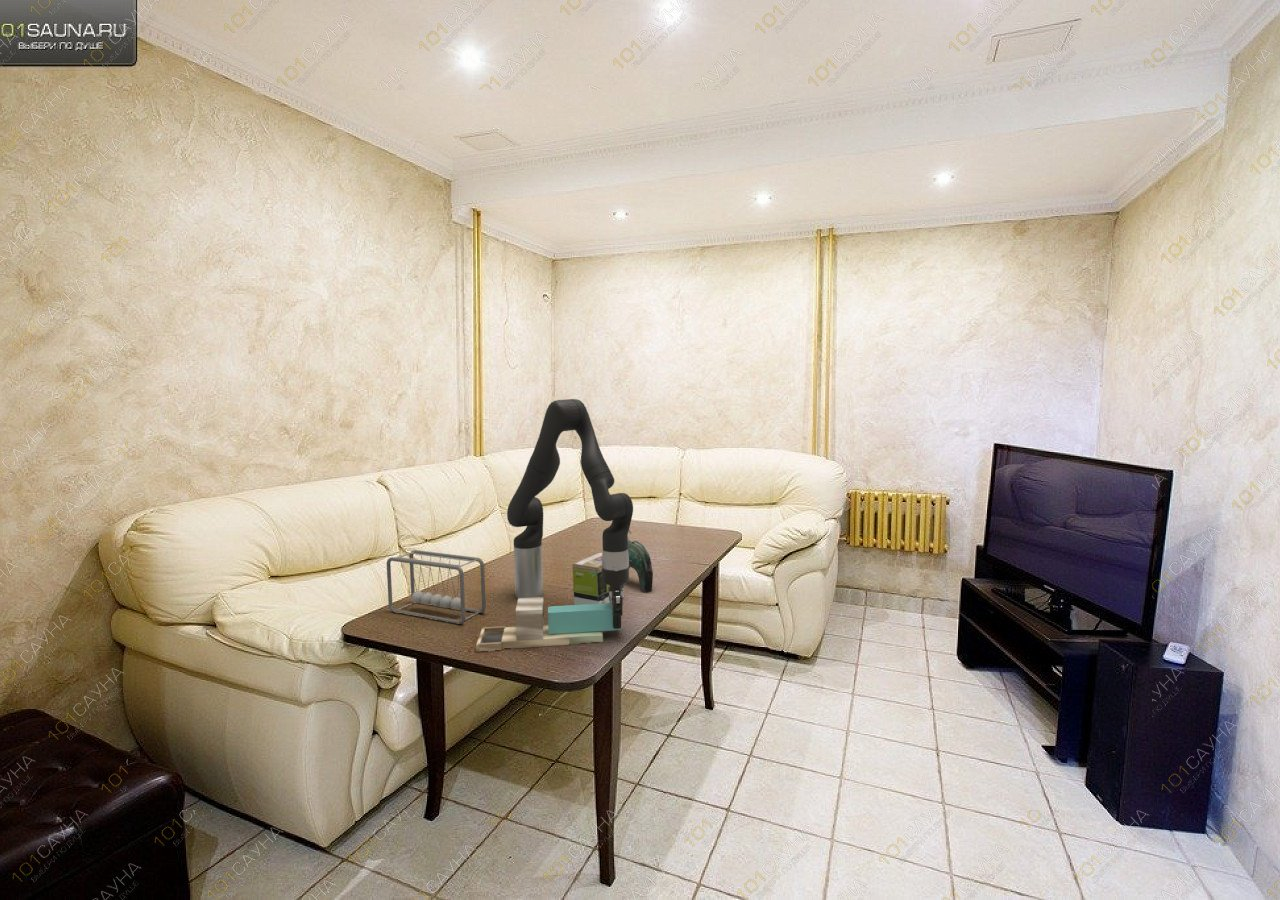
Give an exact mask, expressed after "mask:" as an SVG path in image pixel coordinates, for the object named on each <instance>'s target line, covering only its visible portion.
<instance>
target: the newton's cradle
mask: <svg viewBox="0 0 1280 900" xmlns="http://www.w3.org/2000/svg"><path fill="white" fill-rule="evenodd" d="M408 555H409V558H408V557H405V556H408ZM414 555H417V556H414ZM423 556H424V558H423ZM425 556H426V557H425ZM417 557H420V559H415V558H417ZM432 557H434V559H432ZM428 558H430V560H424V559H428ZM438 559H439V562H438V561H435V560H438ZM441 559H446V561H447V560H456V561H453V562H451V561H449V562H448V563H446V562H444V560H442V561H441ZM461 561H466V563H464V564H460V563H461ZM391 562H397V563H405V564H409V574H410V575H409V578H410V597H411V601H412V602H411V603H409V604H407V605H404V606H402V607H400V608H398V609H400V610H398V609H396V608H395V607H394V605H393V588H392V569H391V567H392V566H391ZM456 562H458V564H454V563H456ZM474 562H478V563H479V567H480V587H481V588H480V589H481V591H480V593H481V609H475V608H470V607H466V603H465V602H466V600H465V577H464V575H465V574H464V570H463V569H462V567H464V566H466V565H469V564H471V563H474ZM414 565H419V566H420V569H419V573H421V575H422V582H423V586H424V587H423V588H424V593H423V592H422V591H420V586H418V588H417V586H416V580H415V568H414ZM422 566H426V567H429V572H428V574H429V575H428V577H431V580H432V586H433V588H434V589H433V590H434V594H433V593H431V592H429V590H427V589H426V585H425V584H426V583H425V581H424V579H425V578H424V574H423V571H422ZM431 567H435V568H438V572H439V575H438V577H437V583H439V582H440V581H439V580H440V579H441V583H442V588H443V594H444V595H443V596H442V594H439V593H438V592H439V586H436V587H437V590H436V589H435V584H434V579H433V573H432V568H431ZM441 568H442V569H447V570H448V571H449V572H448V575H447V579H449V578H450V579H451V583H452V587H453V589H455V587H454V581H453V576H452V573H451V570H456V571H457V572H458V577H457V578H458V579H457V584H459V589H457V592H456V591H455V590H453V592H454V597H453V598H452V597H451V596H450V595H448V594H446V591H448V588H449V587H448V586H449V583H447V584H446V585H447V587H446V591H445V587H444V582H443V576H442V571H441ZM430 574H431V576H430ZM449 575H450V577H449ZM418 577H419V579H418V583H420V579H421V576H418ZM439 577H441V578H440V579H439ZM485 577H486V575H485V563H484V561H483V559H482V558H480V557H474V556H467V555H466V556H465V555H460V554H458V555H457V554H450V553H443V552H434V551H426V550H418V549H417V550H416V549H413V550H411V551H410V552H408V553H406V554H402V555H399V556H396V557H393V556H392V557H391V556H390V557H389V558H388V559H387V561H386V578H387V580H386V581H387V599H388V608H389V610H390V611H391V612H392V611H396V612H402V613H407V614H412V615H418V616H423V617H428V618H432V619H437V620H442V621H448V622H453V623H459V624H461V625H463V624H464V623H465V621H466V620H468V619H471V618H472V617H474V616H476V615H478V613H482V614H484V613H485V611H486V608H487V607H486V602H487V601H486V578H485ZM429 583H430V580H428V584H427V587H429V586H430V585H429ZM459 590H460V591H459ZM456 593H457V594H456ZM459 593H460V597H458V595H459ZM420 602H421V603H423V604H422V605H425V606H429V605H428V604H432V605H433V606H432V607H436V606H442V607H443V609H448V607H449V608H453V609H452V610H455V611H460V610H461V611H460V613H461V614H460V615H461V616H460V617H461V618H460V619H461V620H457V619H453V618H452V619H451V618H448V617H442V616H441V617H440V616H436V615H430V614H423V613H418V612H413V611H407V610H402V609H401V608H403V607H405V608H407V607H409V606H408V605H410V606H412V605H413V604H412V603H414V604H419V603H420ZM411 604H412V605H411ZM406 606H407V607H406ZM442 607H441V608H442ZM403 609H404V608H403ZM458 609H460V610H458ZM465 611H471V612H476V613H472V614H471V615H470V616H467V617H466V612H465ZM471 612H470V613H471Z"/></svg>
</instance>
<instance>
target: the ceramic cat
mask: <svg viewBox="0 0 1280 900" xmlns="http://www.w3.org/2000/svg"><path fill="white" fill-rule="evenodd" d="M628 533H629V534H631V535H632V532H631V530H630V529H629V531H628ZM628 555H629V569H630V568H632V569H633V570H635V572H636V574H637V576H638V581H639V587H640V592H642V591H643V592H642V593H645V592H646V593H649V592H648V591H650V592H652V591H653V582H654V581H653V578H654V577H653V576H654V571H653V565H652V564H653V563H652V561H651V560H652V559H651V556H650V554H649V551H648V550H647V548H645V546H644V545H643V543H642V542H639V541H637V540H635V541H631V539H630V538H629V537H628Z"/></svg>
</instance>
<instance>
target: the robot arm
mask: <svg viewBox="0 0 1280 900" xmlns="http://www.w3.org/2000/svg"><path fill="white" fill-rule="evenodd" d="M570 431H571V432H572V431H575V432H576V433H577V435H578V437H579V439H580V442H581V454H580V465H581V466H580V467H581V470H582V472H583V474H584V477H585V478H586V481H587V483H588V484H589V487H590V490H591V496H592V500H593V506H594V510H595V512H596V515H598V517H599V518H600V519H601V520H603V521H604V522H611V524H610V525H609V526H608V527H606V528H605V529H603V531H602V552H601V553H602V581H603V583H605V584H607V585H610V587H608V592H609V601H610V606H611V607H612V611H613V613H612V615H613V628H614V629H620V628H621V629H622V616H623V614H624V613H623V605H624V598H623V595H624V596H625V593H624V594H623V589H622V587H621V585H622V584H624V585H625V584H628V583H629V581H630V568H629V555H628V538H629V536H628V534H629V530H630V528H631V523H632V519H633V513H634V504H633V501H632V498H631V497H630V496H629V495H628V493H625V492H617V493H614V494H613V493H612V494H610V492H609V489H611V488H612V487H613V486H614V485H615V477H614V475H613V474H612V471H611V469H610V468H609V466H608V463H607V462H606V460H605V458H604V456H603V453H602V451H601V448H600V446H599V442H598V439H597V436H596V433H595V430H594V427H593V423H592V420H591V418H590V414H589V412H588V410H587V407H586V405H585V404H584V403H583V401H581V400H580V399H577V398H571V399H569V398H568V399H566V398H565V399H557V400H553V401H551V403H549V405H548V406H547V408H546V410H545V413H544V417H543V421H542V425H541V429H540V433H539V434H538V438H537V440H536V444H535V447H534V449H533V452H532V454H531V455H530V458H529V460H528V462H527V465H526V468H525V472H524V473H523V476H522V478H521V481H520V483H519V485H518V487H517V489H516V491H515V492H514V494H513V496H512V498H511V500H510V502H509V503H508V507H507V511H506V512H507V513H506V517H507V522H508V524H509V525H510V526H511V527H515V528H521V527H526V528H524V530H523V531H522V532H521V533H519V534H518V535H516V536H515V537H514V538H513V560H514V561H513V566H514V595H515V596H514V597H515V598H516V599H518V598H533V597H543V595H544V588H543V587H544V582H543V581H544V580H543V574H544V573H543V551H542V550H543V547H542V546H543V544H542V542H543V536H544V507H543V504H542V501H541V499H539V498H538V497H537V496H538V495H539V494H540V493H541V492H543V491H544V490H545V489H546V488H547V487H549V485H550V484H552V483H553V481H554V479H555V477H556V475H557V473H558V470H559V467H560V465H561V458H560V454H559V450H558V448H557V442H558V440H559V438H560V435H561V434H562V433H563V432H570ZM615 609H620V611H615Z"/></svg>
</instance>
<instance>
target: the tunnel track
mask: <svg viewBox="0 0 1280 900" xmlns="http://www.w3.org/2000/svg"><path fill="white" fill-rule="evenodd" d="M544 601H545V600H544V596H541V597H533V598H517V603H516V606H515V607H516V608H515V626H505V625H500V626H485V627H482V628H481V630H480V634H479V635H478V639H477V642H476V645H475V646H476V652H477V651H488V652H496V651H495V650H501V651H502V650H505V649H504V648H511V649H525V648H538V647H539V648H540V647H552V646H553V647H554V646H555V647H557V646H568V645H569V644H571V645H581V644H580V643H586V644H592V643H591V642H601V643H604V635H603V634H604V633H603V631H594V632H578V633H562V634H548V624H545V609H544V607H545V605H544ZM569 646H570V645H569Z"/></svg>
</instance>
